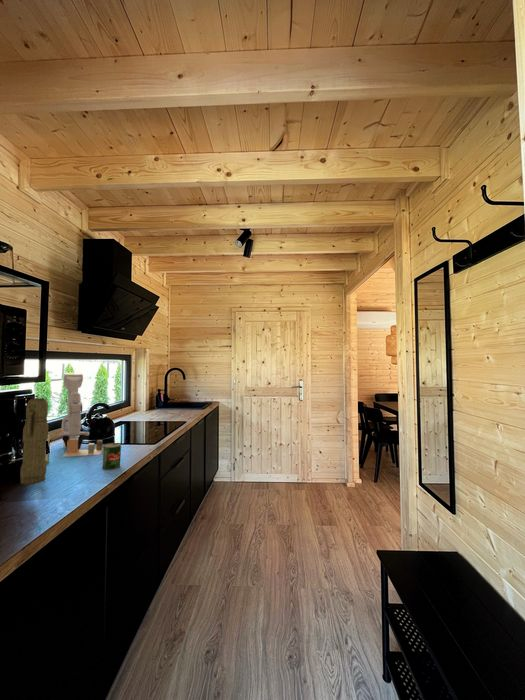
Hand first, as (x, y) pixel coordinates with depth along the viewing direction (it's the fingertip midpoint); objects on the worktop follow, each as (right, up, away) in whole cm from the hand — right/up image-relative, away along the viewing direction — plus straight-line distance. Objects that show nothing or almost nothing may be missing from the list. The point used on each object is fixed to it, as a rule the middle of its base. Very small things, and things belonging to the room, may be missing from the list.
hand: (73, 449), depth 175 cm
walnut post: (+12, -2, +5) cm, 13 cm away
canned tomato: (+33, -2, -23) cm, 40 cm away
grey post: (+11, -2, -2) cm, 11 cm away
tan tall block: (+9, 0, -43) cm, 43 cm away
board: (+7, -2, -1) cm, 7 cm away
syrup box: (-3, -1, -22) cm, 22 cm away
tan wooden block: (0, -1, 0) cm, 1 cm away
